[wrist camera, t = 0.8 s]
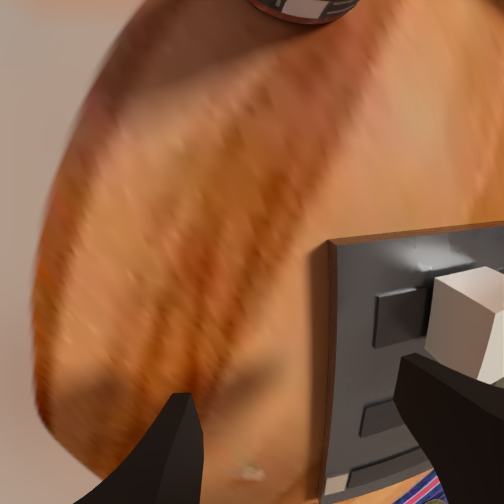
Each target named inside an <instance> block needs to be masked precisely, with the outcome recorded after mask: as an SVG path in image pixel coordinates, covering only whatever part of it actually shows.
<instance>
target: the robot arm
mask: <svg viewBox="0 0 504 504" xmlns="http://www.w3.org/2000/svg"><path fill="white" fill-rule="evenodd" d="M393 401H394V403H395V405H396V407H397V410H398V412H399V414H400V416H401V418H402V420H403V422H404V423H405V425H406V426H407V428H408V429H409V431H410V432H411V434H412V435H413V437H414V438H415V440H416V441H417V443H418V444H419V446H420V447H421V449H422V450H423V452H424V453H425V455H426V456H427V458H428V459H429V461H430V463H431V464H432V466H433V468H434V470H435V472H436V474H437V476H438V478H439V481H440V483H441V485H442V487H443V490H444V492H445V495H446V497H447V500H448V503H449V504H504V388H500V387H497V386H493V385H490V384H487V383H485V382H482V381H479V380H477V379H474V378H472V377H469V376H467V375H464V374H462V373H460V372H458V371H455V370H453V369H451V368H449V367H447V366H444V365H442V364H440V363H438V362H436V361H434V360H431V359H429V358H427V357H425V356H422V355H420V354H417V353H412V354H408V355H405V356H402V357H401V360H400V365H399V371H398V376H397V381H396V386H395V391H394V395H393ZM203 461H204V446H203V431H202V428H201V425H200V422H199V418H198V415H197V412H196V408H195V405H194V401H193V398H192V394H191V393H173V394H172V395H171V396H170V398H169V399H168V401H167V402H166V404H165V406H164V407H163V409H162V410H161V412H160V413H159V415H158V416H157V418H156V419H155V421H154V422H153V424H152V425H151V427H150V428H149V429H148V431H147V432H146V433H145V435H144V436H143V438H142V439H141V440H140V442H139V443H138V444H137V445H136V446H135V448H134V449H133V450H132V451H131V453H130V454H129V455H128V456H127V457H126V458H125V460H124V461H123V462H122V463H121V464H120V465H119V466H118V467H117V468H116V469H115V470H114V471H113V472H112V473H111V474H110V475H109V476H108V477H107V478H106V479H105V480H103V481H102V482H101V483H100V484H99V485H98V486H96V487H95V488H94V489H93V490H92V491H90V492H89V493H88V494H86V495H85V496H84V497H82V498H81V499H79V500H78V501H76V502H75V503H73V504H199V503H200V492H201V482H202V472H203Z"/></svg>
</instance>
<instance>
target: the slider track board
mask: <svg viewBox="0 0 504 504" xmlns="http://www.w3.org/2000/svg"><path fill="white" fill-rule="evenodd" d="M328 254H329V356H328V381H327V400H326V415H325V428H324V440H323V450H322V460H321V469H320V478H319V486H318V494H317V497H318V501H319V504H332V503H336V502H340V501H344V500H347V499H351V498H354V497H358V496H361V495H364V494H368V493H371V492H374V491H377V490H380V489H383V488H385V487H388V486H391V485H394V484H396V483H399V482H401V481H404V480H406V479H409V478H411V477H414V476H416V475H418V474H421V473H423V472H425V471H427V470H429V469H432V468H433V466H432V464H431V463H430V461H429V459H428V458H427V456H426V455H425V453H424V452H423V450H422V449H421V447H420V446H419V444H418V443H417V441H416V440H415V438H414V437H413V435H412V434H411V432H410V431H409V429H408V428H407V426H406V425H405V423H404V422H403V420H402V418H401V416H400V414H399V412H398V410H397V407H396V405H395V403H394V401H393V395H394V391H395V386H396V381H397V376H398V371H399V365H400V360H401V357H402V356H405V355H408V354H412V353H417V354H420V355H422V356H425V357H427V358H429V359H431V360H434V361H436V362H438V361H437V360H436V359H435V358H434V357H433V356H432V355H431V354H430V353H429V352H428V351H427V350H426V349H425V348H424V347H425V342H426V337H427V331H428V325H429V319H430V312H431V305H432V297H433V289H434V279H435V277H440V276H445V275H449V274H454V273H458V272H463V271H467V270H472V269H476V268H480V267H485V266H486V267H489V268H491V269H493V270H495V271H498V272H500V273H502V274H504V221H497V222H487V223H478V224H468V225H459V226H449V227H440V228H431V229H421V230H412V231H402V232H393V233H384V234H375V235H366V236H356V237H347V238H338V239H329V240H328ZM438 363H439V362H438ZM496 382H497V381H496ZM496 382H494V383H492V384H491V385H493V386H495V385H496Z"/></svg>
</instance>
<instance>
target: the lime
mask: <svg viewBox="0 0 504 504" xmlns="http://www.w3.org/2000/svg"><path fill="white" fill-rule="evenodd" d="M424 504H446V503H445V502H444V501H442V500H439V499H433V500H430V501H428V502H426V503H424Z"/></svg>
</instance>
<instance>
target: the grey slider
mask: <svg viewBox="0 0 504 504" xmlns="http://www.w3.org/2000/svg"><path fill="white" fill-rule="evenodd" d="M424 348H425V349H426V350H427V351H428V352H429V353H430V354H431V355H432V356H433V357H434V358H435V359H436V360H437V361H438V362H439V363H440V364H442V365H444V366H447V367H449V368H451V369H453V370H455V371H458V372H460V373H462V374H464V375H467V376H469V377H472V378H474V379H477V380H479V381H482V382H485V383H487V384H490V385H491V384H492V383H494V382H496V381H498V380H499V379H501V378H503V377H504V274H502V273H500V272H498V271H495V270H493V269H491V268H489V267H486V266H485V267H480V268H476V269H472V270H467V271H463V272H458V273H454V274H449V275H445V276H440V277H435V279H434V289H433V297H432V305H431V312H430V319H429V325H428V331H427V337H426V342H425V347H424Z"/></svg>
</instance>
